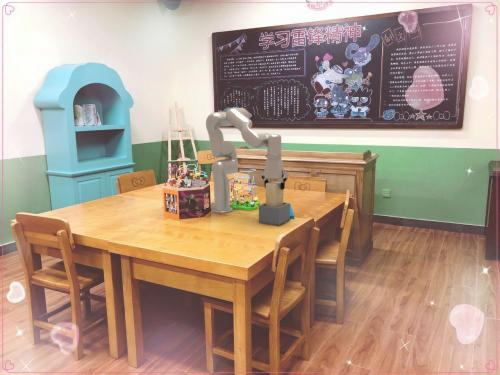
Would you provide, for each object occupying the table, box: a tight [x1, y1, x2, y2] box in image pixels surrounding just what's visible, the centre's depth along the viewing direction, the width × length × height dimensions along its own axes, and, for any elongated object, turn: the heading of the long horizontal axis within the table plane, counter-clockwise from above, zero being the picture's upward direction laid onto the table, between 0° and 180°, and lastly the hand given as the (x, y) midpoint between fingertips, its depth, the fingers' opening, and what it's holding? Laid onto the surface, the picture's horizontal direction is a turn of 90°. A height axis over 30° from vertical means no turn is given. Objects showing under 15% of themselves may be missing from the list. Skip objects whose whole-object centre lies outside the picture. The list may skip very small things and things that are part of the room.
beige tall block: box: [265, 181, 284, 207], centre depth 228 cm, size 8×7×21 cm
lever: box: [290, 203, 295, 220], centre depth 245 cm, size 7×7×18 cm
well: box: [258, 201, 291, 227], centre depth 229 cm, size 12×13×10 cm
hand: (274, 188), depth 227 cm, fingers open, 9 cm apart
